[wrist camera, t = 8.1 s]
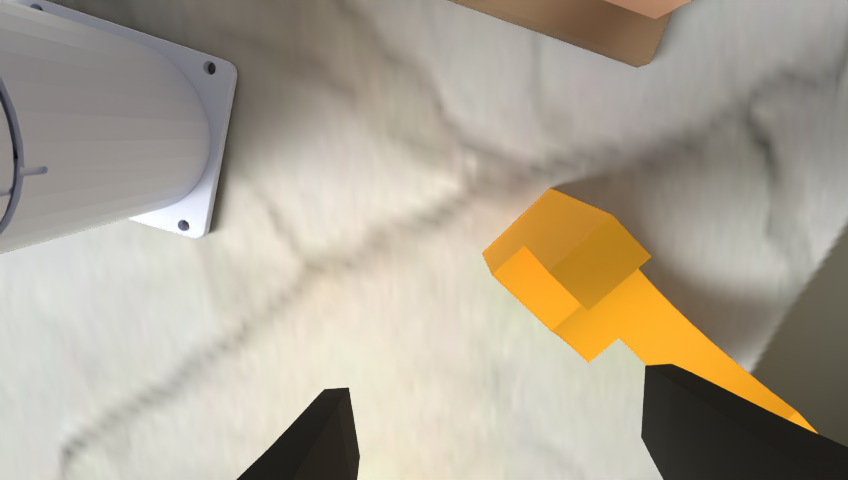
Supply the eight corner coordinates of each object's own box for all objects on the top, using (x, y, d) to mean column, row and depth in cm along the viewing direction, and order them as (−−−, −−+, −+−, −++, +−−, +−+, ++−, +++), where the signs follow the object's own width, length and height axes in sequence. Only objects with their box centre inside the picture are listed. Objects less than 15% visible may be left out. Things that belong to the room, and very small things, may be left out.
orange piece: (481, 252, 19) (507, 308, 13) (548, 187, 18) (611, 214, 12) (637, 401, 21) (725, 513, 15) (704, 349, 20) (828, 444, 14)
